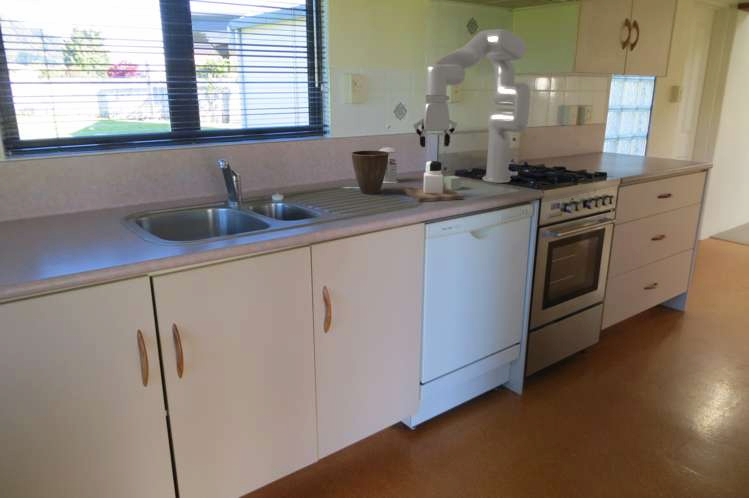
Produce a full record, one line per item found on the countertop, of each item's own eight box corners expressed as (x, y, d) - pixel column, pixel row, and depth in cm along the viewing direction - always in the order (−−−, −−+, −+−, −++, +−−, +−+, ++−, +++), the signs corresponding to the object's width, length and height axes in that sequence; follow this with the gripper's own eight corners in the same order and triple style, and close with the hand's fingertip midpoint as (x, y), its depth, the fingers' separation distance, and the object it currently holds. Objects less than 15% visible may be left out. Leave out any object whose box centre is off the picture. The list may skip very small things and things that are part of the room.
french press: (399, 179, 239) (400, 123, 231) (397, 184, 228) (398, 126, 220) (377, 179, 240) (377, 123, 232) (375, 184, 229) (375, 125, 221)
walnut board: (444, 190, 217) (444, 186, 217) (462, 199, 201) (463, 195, 200) (403, 192, 213) (403, 188, 213) (418, 202, 196) (418, 198, 196)
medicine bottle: (441, 190, 210) (442, 160, 206) (442, 193, 203) (443, 162, 200) (423, 190, 210) (424, 160, 207) (424, 193, 204) (425, 162, 200)
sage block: (452, 187, 224) (453, 175, 222) (460, 189, 220) (460, 177, 218) (443, 188, 221) (443, 176, 220) (450, 190, 217) (451, 178, 216)
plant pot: (344, 192, 213) (343, 152, 208) (370, 187, 223) (370, 149, 218) (369, 197, 203) (369, 156, 198) (396, 192, 213) (396, 152, 208)
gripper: (453, 99, 201) (451, 144, 207) (410, 100, 197) (410, 146, 203) (461, 99, 194) (459, 146, 200) (417, 101, 190) (416, 148, 196)
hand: (434, 146), depth 201 cm, fingers open, 9 cm apart
